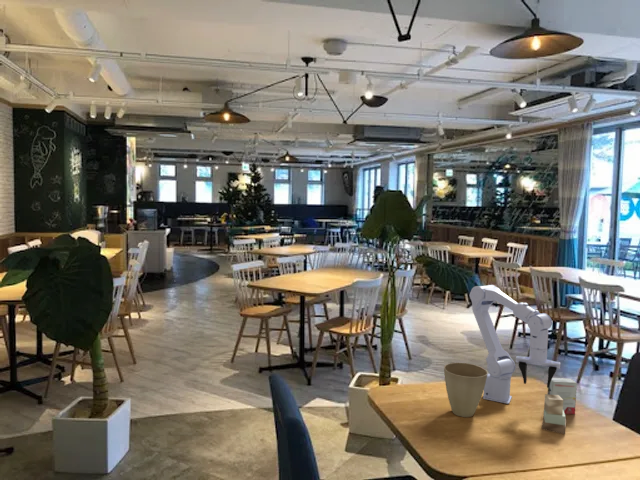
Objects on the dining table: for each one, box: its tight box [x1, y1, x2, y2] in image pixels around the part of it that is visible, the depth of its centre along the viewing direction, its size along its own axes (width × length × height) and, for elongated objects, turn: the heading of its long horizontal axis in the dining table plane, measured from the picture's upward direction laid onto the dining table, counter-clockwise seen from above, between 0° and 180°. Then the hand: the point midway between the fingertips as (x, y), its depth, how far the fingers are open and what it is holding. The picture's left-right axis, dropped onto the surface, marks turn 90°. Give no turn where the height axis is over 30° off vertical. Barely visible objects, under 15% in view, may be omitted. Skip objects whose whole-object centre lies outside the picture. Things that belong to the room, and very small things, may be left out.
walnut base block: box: [541, 415, 567, 435], centre depth 171 cm, size 7×7×3 cm
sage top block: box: [543, 408, 566, 425], centre depth 171 cm, size 6×6×3 cm
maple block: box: [543, 393, 563, 415], centre depth 171 cm, size 4×4×5 cm
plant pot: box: [443, 362, 489, 418], centre depth 180 cm, size 15×15×16 cm
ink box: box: [546, 377, 578, 415], centre depth 185 cm, size 9×5×12 cm, turn 84°
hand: (536, 384), depth 182 cm, fingers open, 7 cm apart
